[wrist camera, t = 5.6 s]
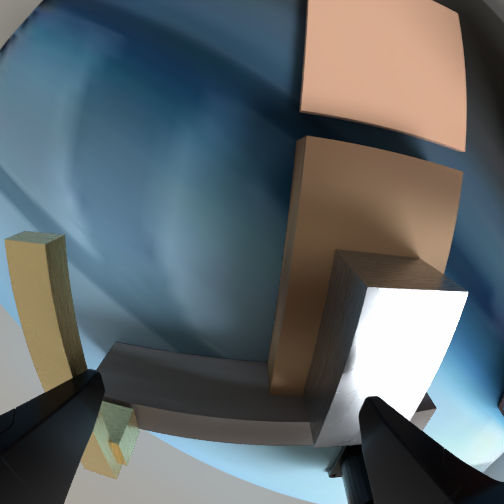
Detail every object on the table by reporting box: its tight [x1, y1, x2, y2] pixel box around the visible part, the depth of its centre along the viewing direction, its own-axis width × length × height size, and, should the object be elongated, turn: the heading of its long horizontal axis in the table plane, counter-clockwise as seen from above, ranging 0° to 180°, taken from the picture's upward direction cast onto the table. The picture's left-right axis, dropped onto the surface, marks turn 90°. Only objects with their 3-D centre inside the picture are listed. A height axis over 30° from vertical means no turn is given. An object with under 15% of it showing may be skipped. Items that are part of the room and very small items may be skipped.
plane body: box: [96, 136, 463, 446], centre depth 14 cm, size 15×20×5 cm
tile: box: [299, 0, 466, 152], centre depth 12 cm, size 10×10×1 cm
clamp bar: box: [5, 231, 140, 479], centre depth 10 cm, size 12×2×4 cm, turn 175°
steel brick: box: [304, 249, 468, 448], centre depth 12 cm, size 8×4×4 cm, turn 175°
